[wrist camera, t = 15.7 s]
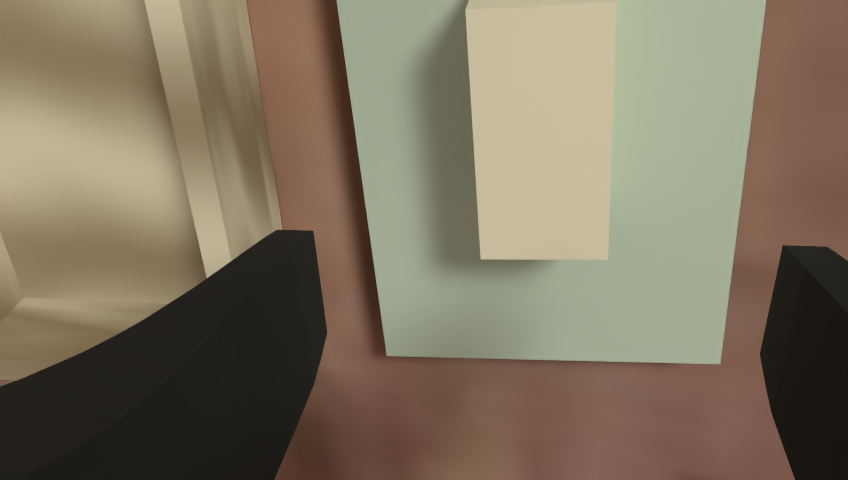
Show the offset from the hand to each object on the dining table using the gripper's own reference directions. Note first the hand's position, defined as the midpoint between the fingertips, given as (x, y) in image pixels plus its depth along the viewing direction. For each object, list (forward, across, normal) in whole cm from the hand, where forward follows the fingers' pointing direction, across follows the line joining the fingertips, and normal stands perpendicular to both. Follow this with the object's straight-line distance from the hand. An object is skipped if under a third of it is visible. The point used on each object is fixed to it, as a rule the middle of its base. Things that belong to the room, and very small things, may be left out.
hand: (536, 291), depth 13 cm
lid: (+11, 0, 0) cm, 11 cm away
